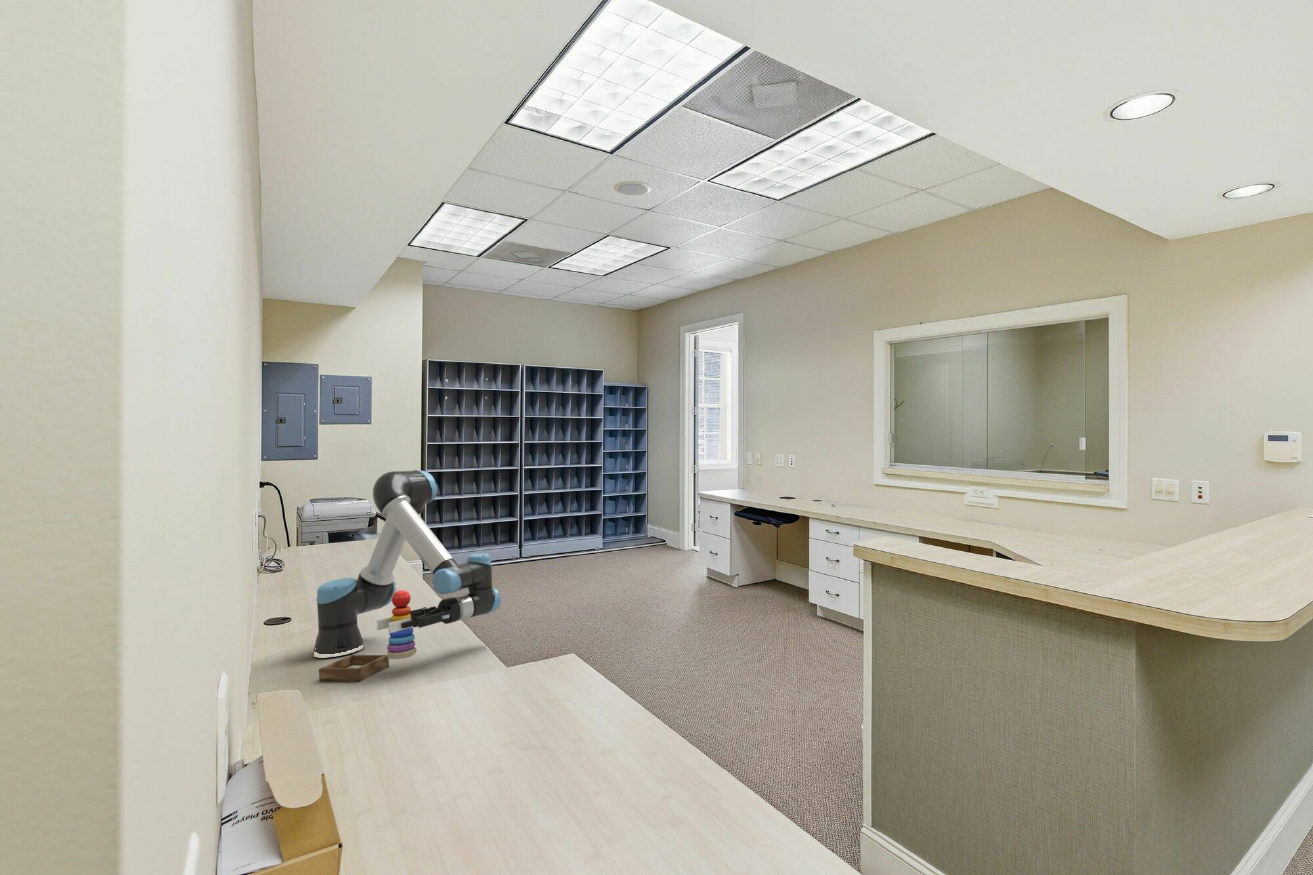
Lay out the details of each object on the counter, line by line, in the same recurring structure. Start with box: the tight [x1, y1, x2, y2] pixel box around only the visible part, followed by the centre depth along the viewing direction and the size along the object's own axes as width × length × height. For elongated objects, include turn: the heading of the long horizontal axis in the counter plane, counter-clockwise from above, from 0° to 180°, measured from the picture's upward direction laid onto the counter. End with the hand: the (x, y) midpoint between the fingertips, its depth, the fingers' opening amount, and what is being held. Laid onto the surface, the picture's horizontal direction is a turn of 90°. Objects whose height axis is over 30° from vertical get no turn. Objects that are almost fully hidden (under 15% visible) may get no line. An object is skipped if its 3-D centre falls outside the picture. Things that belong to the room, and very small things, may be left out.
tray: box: [318, 654, 390, 683], centre depth 181 cm, size 13×13×4 cm
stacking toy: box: [386, 589, 417, 660], centre depth 180 cm, size 8×8×19 cm
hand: (383, 626), depth 176 cm, fingers closed on stacking toy, 6 cm apart
